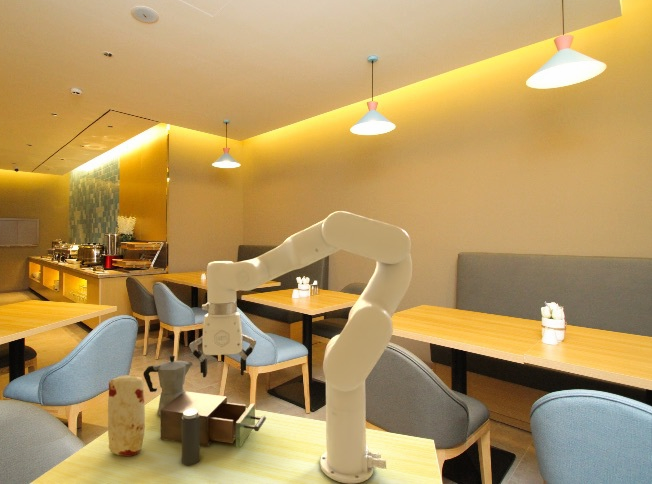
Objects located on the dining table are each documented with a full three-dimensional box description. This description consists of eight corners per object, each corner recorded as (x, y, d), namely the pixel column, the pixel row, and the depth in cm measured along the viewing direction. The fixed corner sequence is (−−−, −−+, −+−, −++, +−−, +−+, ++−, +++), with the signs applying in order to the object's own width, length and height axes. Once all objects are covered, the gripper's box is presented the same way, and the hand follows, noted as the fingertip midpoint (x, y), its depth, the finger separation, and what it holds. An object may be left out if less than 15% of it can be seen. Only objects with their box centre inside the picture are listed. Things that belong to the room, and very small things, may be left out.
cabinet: (227, 423, 107) (227, 396, 107) (207, 446, 95) (207, 416, 95) (184, 417, 111) (184, 391, 111) (160, 439, 99) (160, 409, 99)
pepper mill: (194, 466, 86) (193, 417, 87) (178, 463, 88) (178, 415, 88) (202, 456, 91) (202, 409, 91) (187, 453, 92) (187, 407, 92)
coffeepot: (190, 401, 122) (190, 349, 122) (195, 413, 113) (195, 357, 114) (142, 410, 116) (142, 355, 116) (144, 424, 107) (144, 364, 107)
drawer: (269, 427, 102) (268, 405, 103) (255, 450, 92) (255, 425, 92) (213, 419, 107) (213, 398, 108) (194, 440, 97) (194, 416, 97)
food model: (102, 459, 90) (101, 380, 90) (116, 444, 96) (116, 370, 97) (139, 460, 89) (138, 381, 89) (150, 445, 96) (150, 371, 96)
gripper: (186, 312, 88) (187, 382, 88) (255, 309, 89) (257, 378, 89) (191, 307, 95) (192, 371, 95) (255, 304, 97) (256, 367, 96)
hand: (223, 374), depth 92 cm, fingers open, 9 cm apart
